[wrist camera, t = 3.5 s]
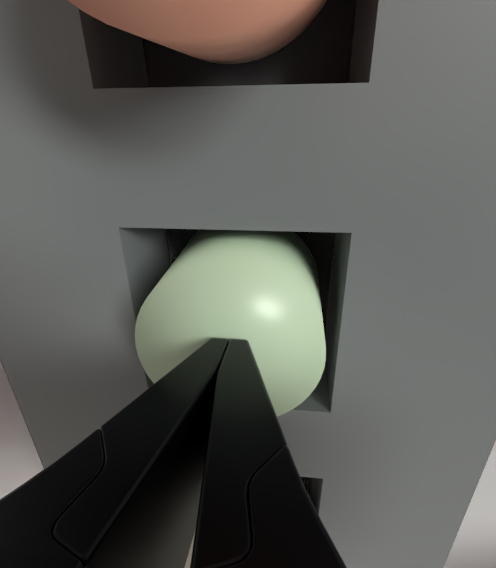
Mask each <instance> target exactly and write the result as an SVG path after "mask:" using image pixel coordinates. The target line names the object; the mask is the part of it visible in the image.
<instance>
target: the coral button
mask: <svg viewBox="0 0 496 568" xmlns="http://www.w3.org/2000/svg"><path fill="white" fill-rule="evenodd" d="M68 1H69V2H71V3H72V4H73V5H75V6H76V7H78V8H79V9H80V10H82V11H83V12H85V13H87V14H89V15H91V16H92V17H94V18H96V19H98V20H100V21H102V22H104V23H106V24H108V25H110V26H113V27H115V28H118V29H121V30H123V31H126V32H129V33H131V34H134V35H136V36H139V37H142V38H144V39H147V40H150V41H152V42H155V43H157V44H160V45H163V46H165V47H168V48H171V49H173V50H176V51H179V52H181V53H184V54H186V55H189V56H192V57H195V58H197V59H200V60H203V61H207V62H212V63H217V64H238V63H246V62H250V61H254V60H258V59H261V58H263V57H265V56H268V55H270V54H272V53H274V52H276V51H278V50H279V49H281V48H283V47H284V46H286V45H287V44H289V43H290V42H291V41H292V40H294V39H295V38H296V37H297V36H299V35H300V34H301V33H302V32H303V31H304V30H305V29H306V28H307V27H308V25H309V24H310V23H311V22H312V21H313V20H314V19H315V17H316V16H317V15H318V13H319V12H320V11H321V9H322V8H323V7H324V5H325V3H326V2H327V0H68Z"/></svg>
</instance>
